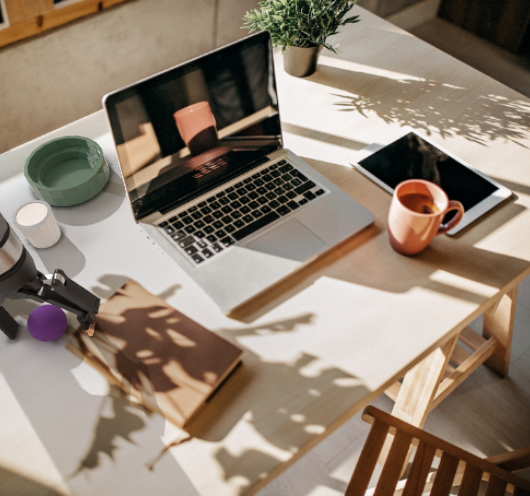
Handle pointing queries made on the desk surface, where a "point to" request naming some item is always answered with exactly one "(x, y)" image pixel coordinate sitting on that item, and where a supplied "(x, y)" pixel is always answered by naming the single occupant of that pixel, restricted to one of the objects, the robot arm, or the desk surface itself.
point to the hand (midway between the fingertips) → (53, 330)
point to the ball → (47, 322)
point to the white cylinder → (37, 223)
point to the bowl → (67, 170)
